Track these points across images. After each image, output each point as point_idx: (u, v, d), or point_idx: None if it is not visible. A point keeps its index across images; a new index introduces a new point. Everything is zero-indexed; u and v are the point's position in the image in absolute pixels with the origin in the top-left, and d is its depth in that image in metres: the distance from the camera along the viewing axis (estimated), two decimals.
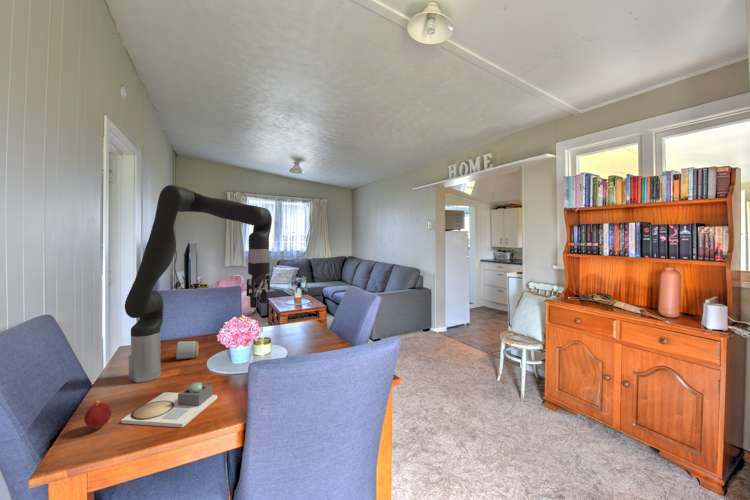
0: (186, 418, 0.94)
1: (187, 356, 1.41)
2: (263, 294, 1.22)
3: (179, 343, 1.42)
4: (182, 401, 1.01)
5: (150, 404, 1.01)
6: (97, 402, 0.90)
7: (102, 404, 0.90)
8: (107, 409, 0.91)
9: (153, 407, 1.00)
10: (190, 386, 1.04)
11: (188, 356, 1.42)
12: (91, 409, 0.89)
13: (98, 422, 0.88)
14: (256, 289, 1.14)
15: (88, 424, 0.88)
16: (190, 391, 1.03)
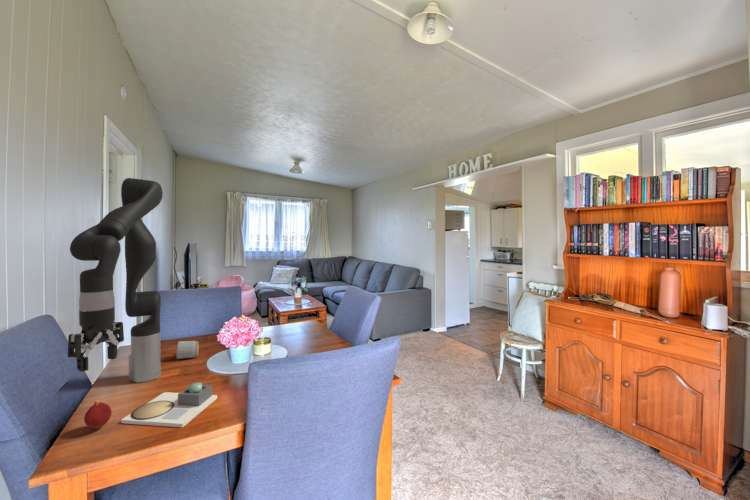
0: (186, 418, 0.94)
1: (187, 356, 1.42)
2: (110, 348, 0.94)
3: (179, 343, 1.42)
4: (182, 401, 1.01)
5: (150, 404, 1.01)
6: (97, 402, 0.90)
7: (102, 404, 0.90)
8: (107, 409, 0.91)
9: (153, 407, 1.00)
10: (190, 386, 1.04)
11: (188, 356, 1.42)
12: (91, 409, 0.89)
13: (98, 422, 0.88)
14: (87, 346, 0.86)
15: (88, 424, 0.88)
16: (190, 391, 1.03)
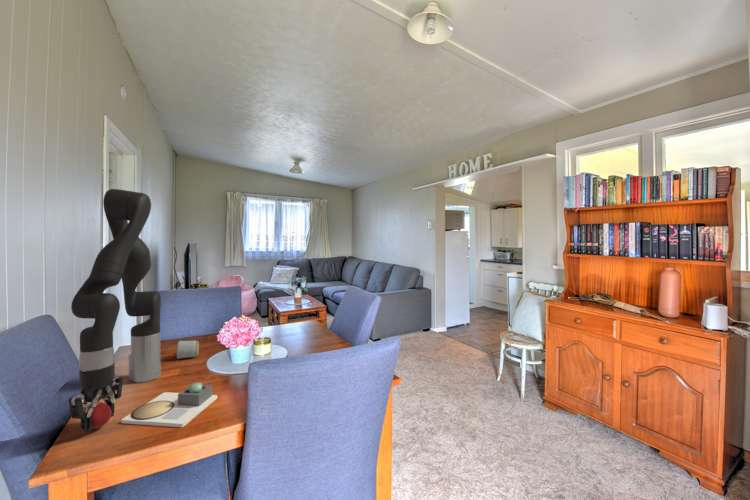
0: (186, 418, 0.94)
1: (187, 355, 1.42)
2: None
3: (180, 342, 1.43)
4: (182, 401, 1.01)
5: (150, 404, 1.01)
6: (97, 402, 0.90)
7: (102, 404, 0.90)
8: (107, 409, 0.91)
9: (153, 407, 1.00)
10: (190, 386, 1.04)
11: (188, 355, 1.43)
12: None
13: (98, 422, 0.88)
14: (89, 406, 0.87)
15: None
16: (190, 391, 1.03)
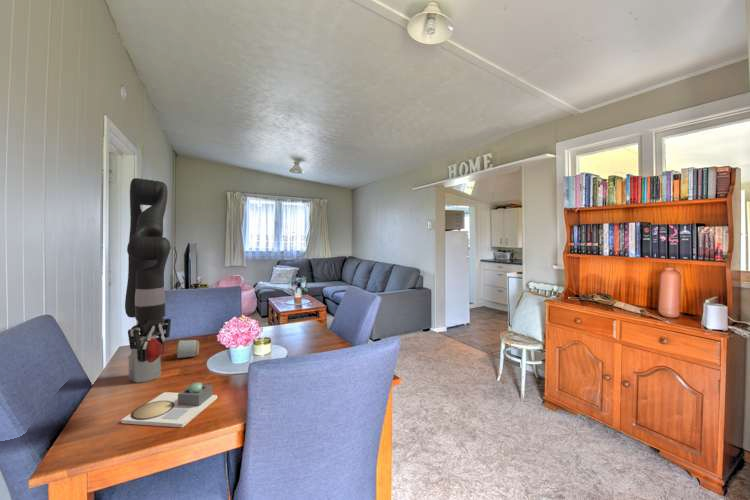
0: (186, 418, 0.94)
1: (188, 355, 1.43)
2: None
3: (180, 342, 1.43)
4: (182, 401, 1.01)
5: (150, 404, 1.01)
6: None
7: (155, 340, 0.98)
8: (159, 344, 0.98)
9: (153, 407, 1.00)
10: (190, 386, 1.04)
11: (189, 355, 1.43)
12: None
13: (152, 355, 0.96)
14: (144, 339, 0.94)
15: None
16: (190, 391, 1.03)
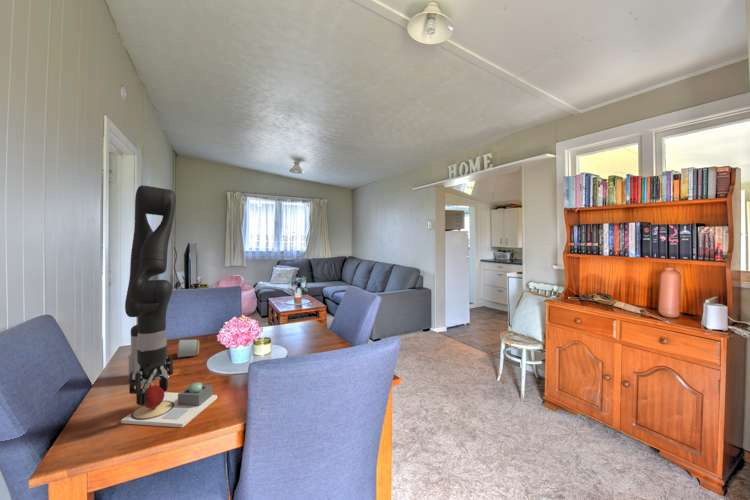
0: (186, 418, 0.94)
1: (188, 354, 1.44)
2: (162, 381, 1.02)
3: (180, 341, 1.44)
4: (182, 401, 1.01)
5: None
6: (152, 384, 0.98)
7: (156, 386, 0.99)
8: (161, 391, 0.99)
9: None
10: (190, 386, 1.04)
11: (189, 354, 1.44)
12: (147, 391, 0.97)
13: (154, 402, 0.96)
14: (145, 382, 0.94)
15: (145, 404, 0.96)
16: (190, 391, 1.03)
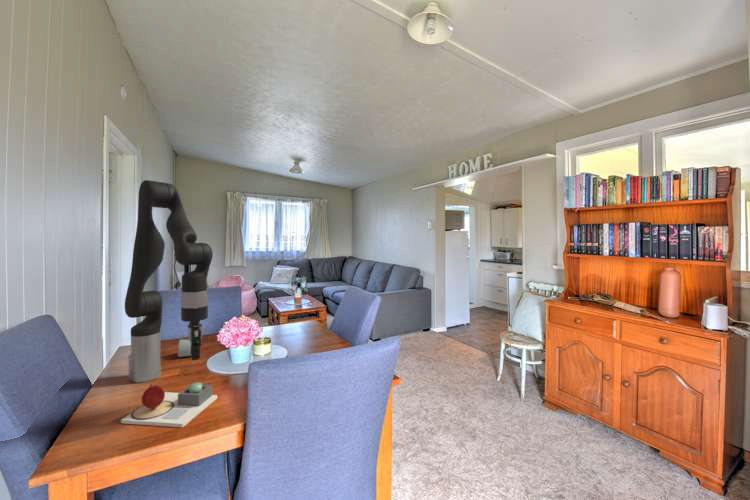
0: (186, 418, 0.94)
1: (188, 354, 1.44)
2: None
3: (180, 341, 1.44)
4: (182, 401, 1.01)
5: None
6: (152, 385, 0.98)
7: (157, 387, 0.99)
8: (161, 391, 0.99)
9: None
10: (190, 386, 1.04)
11: (189, 354, 1.44)
12: (148, 391, 0.97)
13: (154, 402, 0.96)
14: None
15: (146, 404, 0.96)
16: (190, 391, 1.03)
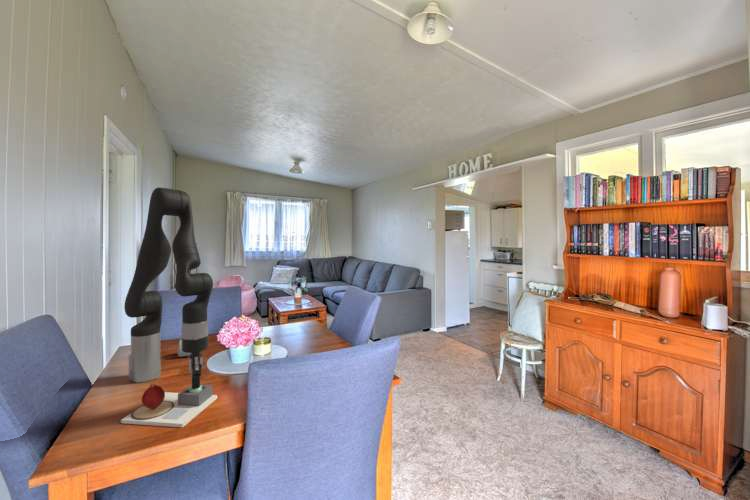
0: (186, 418, 0.94)
1: (189, 353, 1.45)
2: None
3: (181, 341, 1.45)
4: (182, 401, 1.01)
5: None
6: (153, 385, 0.98)
7: (157, 387, 0.99)
8: (161, 391, 0.99)
9: None
10: (190, 389, 1.04)
11: (189, 353, 1.45)
12: (148, 391, 0.97)
13: (154, 402, 0.96)
14: None
15: (146, 404, 0.96)
16: None
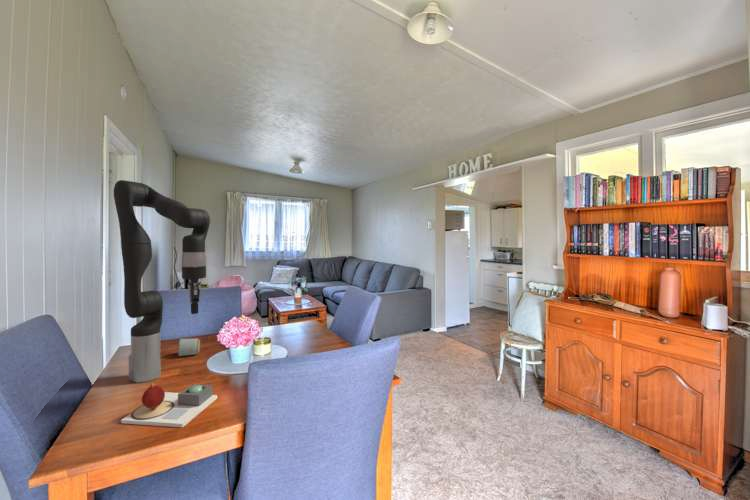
0: (186, 418, 0.94)
1: (189, 353, 1.45)
2: None
3: (181, 340, 1.45)
4: (182, 401, 1.01)
5: None
6: (153, 385, 0.98)
7: (157, 387, 0.99)
8: (161, 391, 0.99)
9: None
10: (190, 389, 1.04)
11: (190, 353, 1.46)
12: (148, 391, 0.97)
13: (154, 402, 0.96)
14: None
15: (146, 404, 0.96)
16: None
